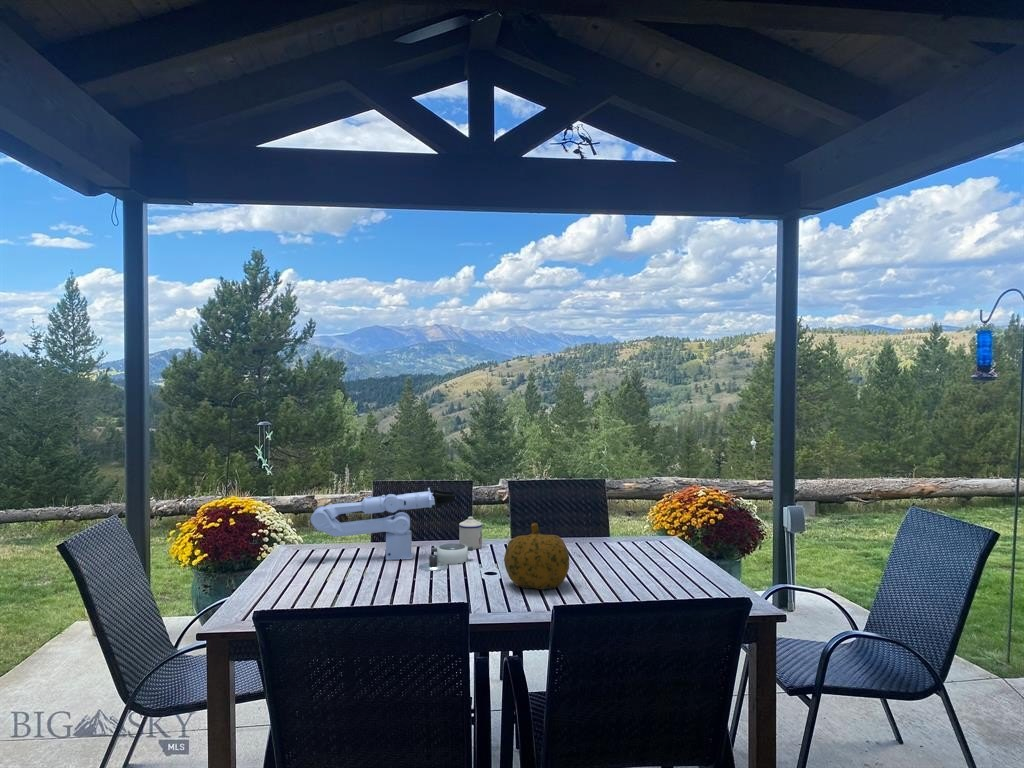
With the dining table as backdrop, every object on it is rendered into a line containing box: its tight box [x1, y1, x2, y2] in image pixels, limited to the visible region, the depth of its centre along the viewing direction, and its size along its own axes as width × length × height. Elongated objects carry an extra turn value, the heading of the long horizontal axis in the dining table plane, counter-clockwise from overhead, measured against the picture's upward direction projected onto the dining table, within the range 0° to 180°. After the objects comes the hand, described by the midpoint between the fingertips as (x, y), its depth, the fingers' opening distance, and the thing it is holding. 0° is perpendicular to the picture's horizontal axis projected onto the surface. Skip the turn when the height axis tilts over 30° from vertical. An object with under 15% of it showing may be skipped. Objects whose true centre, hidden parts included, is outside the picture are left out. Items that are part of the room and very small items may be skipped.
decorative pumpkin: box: [503, 522, 570, 591], centre depth 229 cm, size 20×21×20 cm
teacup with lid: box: [458, 516, 483, 550], centre depth 282 cm, size 12×9×12 cm
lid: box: [418, 554, 449, 572], centre depth 250 cm, size 10×10×4 cm
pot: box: [431, 543, 474, 565], centre depth 260 cm, size 15×11×5 cm
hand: (454, 496), depth 267 cm, fingers open, 7 cm apart
